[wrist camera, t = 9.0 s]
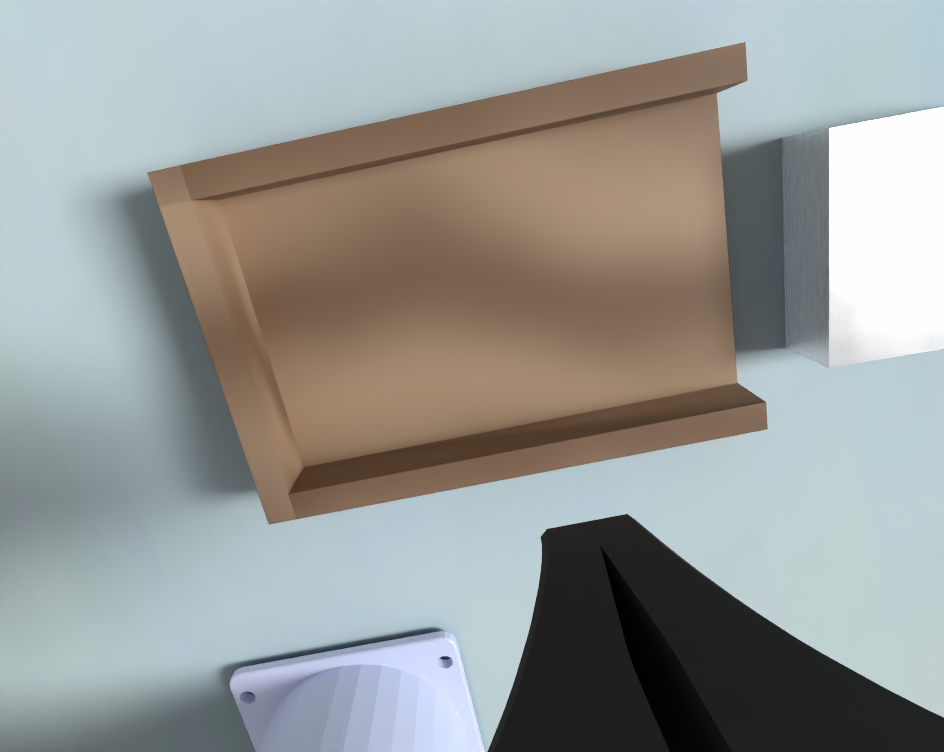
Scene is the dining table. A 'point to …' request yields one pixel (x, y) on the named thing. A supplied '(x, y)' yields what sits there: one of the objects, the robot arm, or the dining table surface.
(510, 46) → the dining table surface
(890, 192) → the cover plate
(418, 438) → the wooden box
